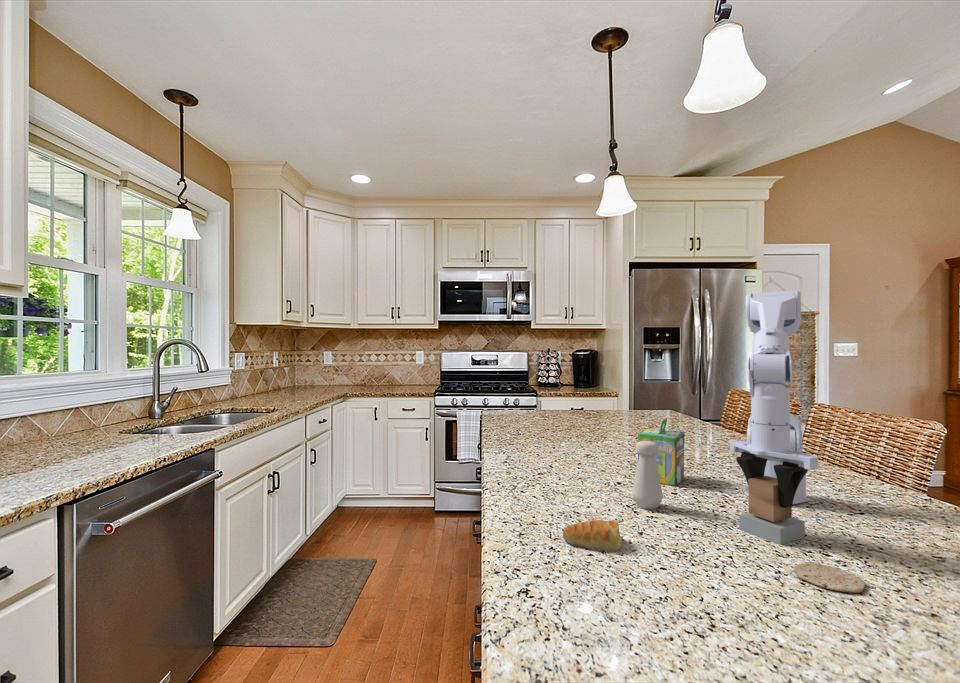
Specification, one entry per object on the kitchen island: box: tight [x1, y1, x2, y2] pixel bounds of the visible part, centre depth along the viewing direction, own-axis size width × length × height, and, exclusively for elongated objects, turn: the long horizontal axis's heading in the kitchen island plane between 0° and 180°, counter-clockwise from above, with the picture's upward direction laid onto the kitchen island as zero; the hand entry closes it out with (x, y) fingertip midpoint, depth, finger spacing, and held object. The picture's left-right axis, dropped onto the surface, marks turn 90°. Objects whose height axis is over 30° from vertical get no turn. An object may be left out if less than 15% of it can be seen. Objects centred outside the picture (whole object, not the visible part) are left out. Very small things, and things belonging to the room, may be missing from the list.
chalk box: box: [637, 417, 686, 487], centre depth 113 cm, size 9×9×15 cm
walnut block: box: [747, 476, 793, 522], centre depth 80 cm, size 4×4×6 cm
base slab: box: [738, 511, 806, 546], centre depth 80 cm, size 7×7×3 cm
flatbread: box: [793, 562, 866, 594], centre depth 64 cm, size 8×8×1 cm
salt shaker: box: [631, 441, 664, 510], centre depth 94 cm, size 6×6×13 cm
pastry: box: [562, 518, 622, 552], centre depth 77 cm, size 9×7×4 cm
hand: (771, 501), depth 80 cm, fingers open, 5 cm apart
